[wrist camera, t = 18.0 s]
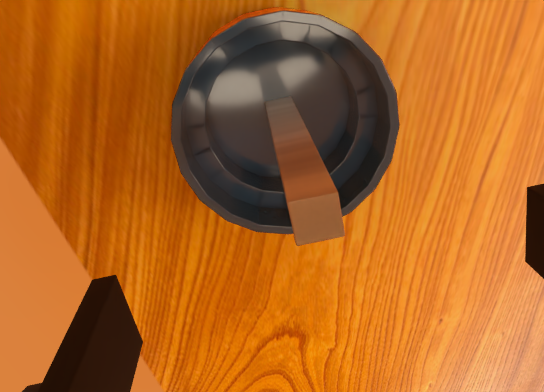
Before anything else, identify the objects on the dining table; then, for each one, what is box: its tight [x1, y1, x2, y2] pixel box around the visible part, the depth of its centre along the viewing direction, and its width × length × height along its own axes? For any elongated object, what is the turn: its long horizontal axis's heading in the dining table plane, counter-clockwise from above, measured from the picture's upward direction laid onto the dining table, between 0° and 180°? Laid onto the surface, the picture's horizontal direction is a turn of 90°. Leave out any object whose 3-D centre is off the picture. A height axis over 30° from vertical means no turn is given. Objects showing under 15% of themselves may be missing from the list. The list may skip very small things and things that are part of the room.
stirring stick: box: [265, 96, 345, 246], centre depth 27 cm, size 2×2×18 cm
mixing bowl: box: [171, 7, 399, 234], centre depth 33 cm, size 14×14×6 cm
